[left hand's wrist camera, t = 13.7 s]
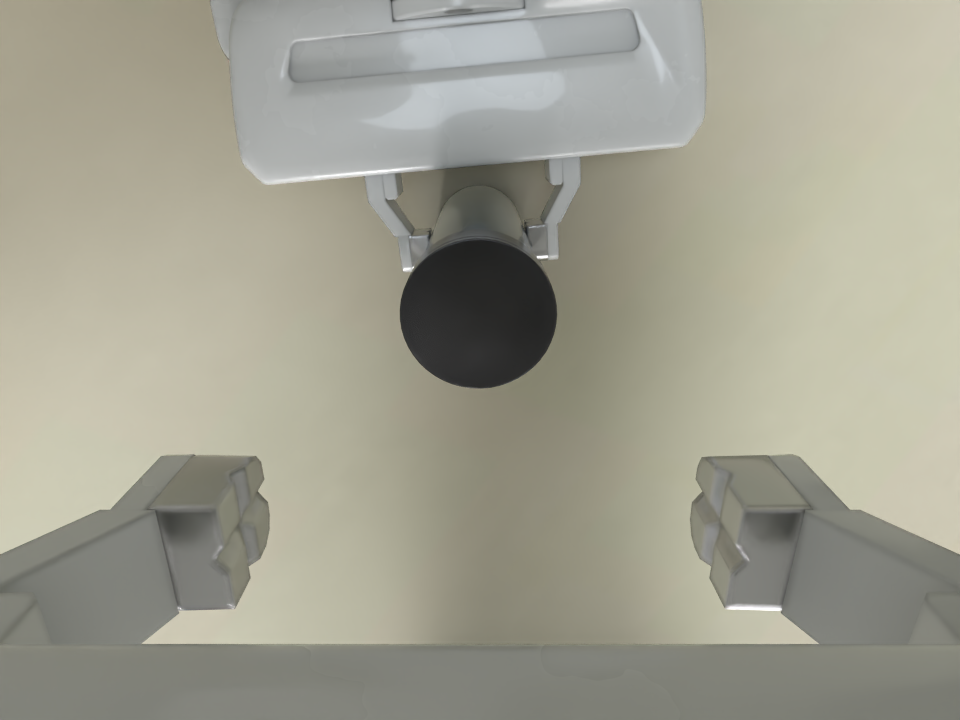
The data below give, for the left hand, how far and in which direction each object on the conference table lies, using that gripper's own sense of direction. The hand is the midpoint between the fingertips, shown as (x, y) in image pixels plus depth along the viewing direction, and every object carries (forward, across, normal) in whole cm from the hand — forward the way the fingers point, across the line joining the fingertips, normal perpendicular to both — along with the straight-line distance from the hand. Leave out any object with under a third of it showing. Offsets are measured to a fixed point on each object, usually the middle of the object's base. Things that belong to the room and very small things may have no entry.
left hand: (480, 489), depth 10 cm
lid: (+10, 0, 0) cm, 10 cm away
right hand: (+21, 0, -1) cm, 21 cm away
